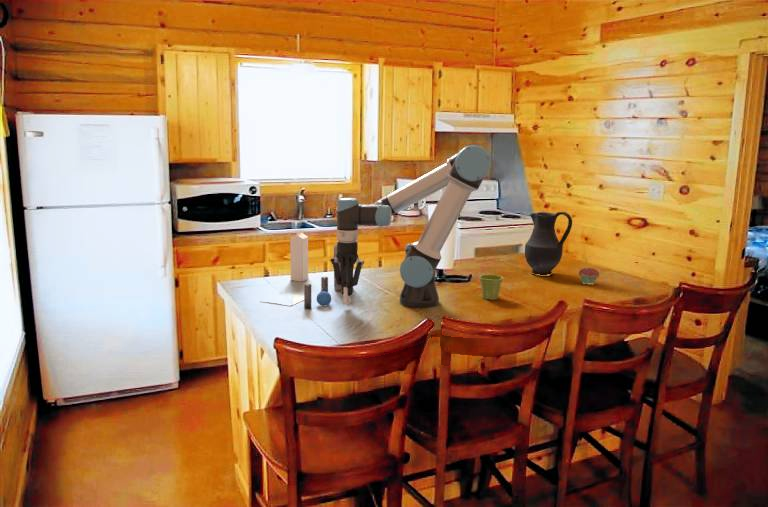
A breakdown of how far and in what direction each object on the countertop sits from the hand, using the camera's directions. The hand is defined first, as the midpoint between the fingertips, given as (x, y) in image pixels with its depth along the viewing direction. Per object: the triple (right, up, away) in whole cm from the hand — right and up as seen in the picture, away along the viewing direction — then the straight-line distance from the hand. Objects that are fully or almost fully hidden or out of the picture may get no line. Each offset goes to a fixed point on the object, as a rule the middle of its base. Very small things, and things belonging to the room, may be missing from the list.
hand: (346, 303), depth 228 cm
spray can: (-3, +3, +27) cm, 28 cm away
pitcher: (+89, +8, +59) cm, 107 cm away
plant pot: (+56, 0, +18) cm, 59 cm away
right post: (-9, 0, +11) cm, 15 cm away
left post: (-14, -2, 0) cm, 15 cm away
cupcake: (+104, +5, +43) cm, 113 cm away
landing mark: (-25, +1, +11) cm, 27 cm away
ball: (-9, +2, +3) cm, 10 cm away
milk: (-23, +7, +43) cm, 49 cm away
